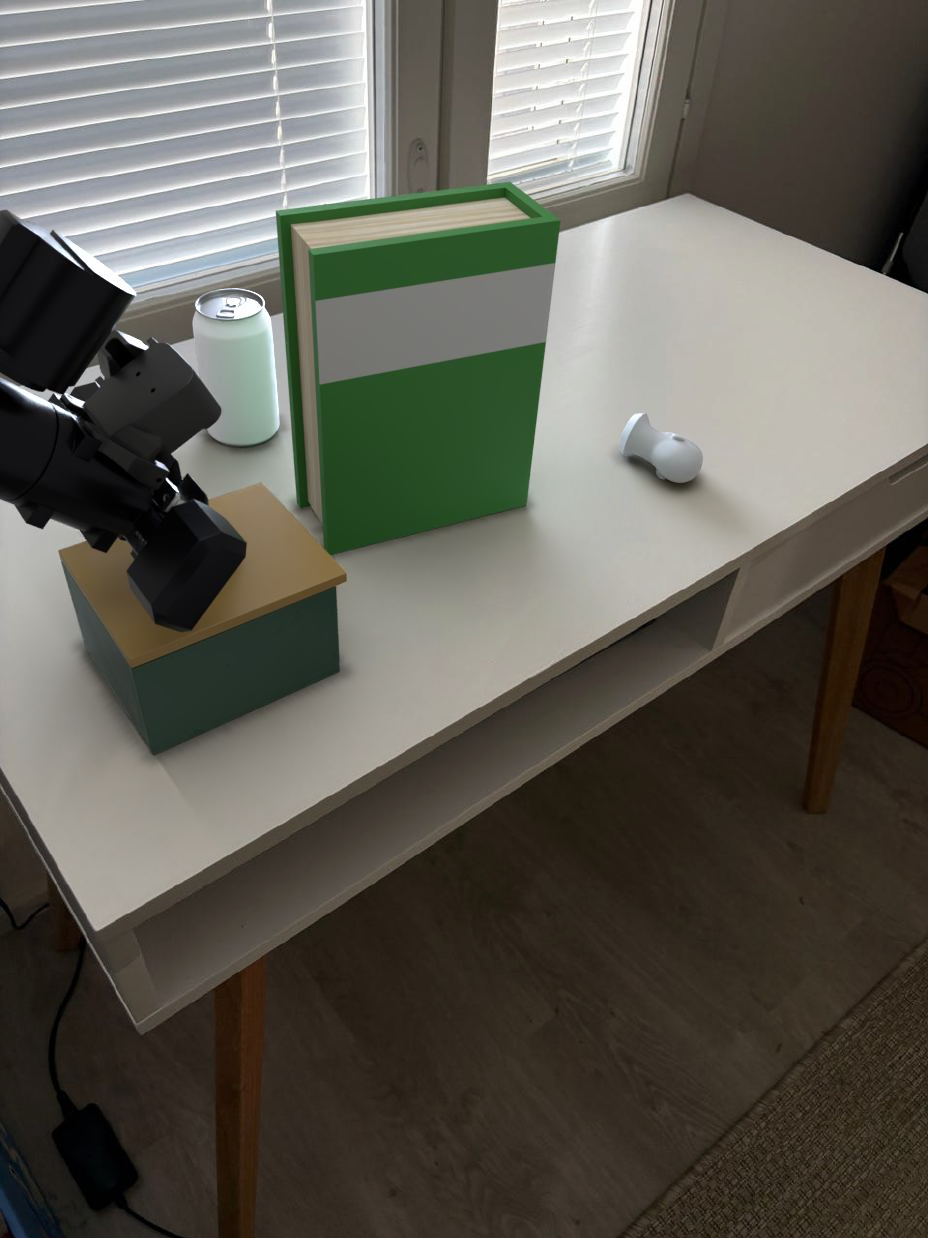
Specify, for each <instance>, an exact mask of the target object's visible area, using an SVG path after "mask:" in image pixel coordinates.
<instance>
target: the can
mask: <svg viewBox="0 0 928 1238" xmlns="http://www.w3.org/2000/svg"><path fill="white" fill-rule="evenodd" d="M265 304H266V303H265V300H264V298H263V297H262V296H261V295H260V294H258V293H256V292H254V291H251V290H248V289H243V288H221V289H220V288H219V289H214V290H211V291H208V292H205V293H203V294H202V295H200V296H199V297H198V298H197V299H196V300H195V302H194V308H195V312H194V315H193V318H192V334H193V340H194V348H195V356H196V363H197V371H198V376H199V377H200V379H201V380H202V382H203V383H204V384H205V386H206V387H207V388H208V390H209V391H210V393H211V394H212V395H213V397H214V398H215V400H216V401H217V402H218V404H219V405H220V406H221V410H222V412H221V415H220V417H219V419H218V420H217V422H216V423H215V424H213V425H212V426H211V427H210V428H208V429H206V430H207V432H208V434H209V435H210V437H212V438H213V439H214V440H215V441H216V442H219V444H223V445H224V446H229V447H234V448H235V447H236V448H247V447H252V446H253V447H254V446H258V445H261V444H263V443H265V442H267V441H269V440H270V439H271V438H272V437H273V436H275V434H276V433H277V432H278V430H279V427H280V411H279V398H278V386H277V385H278V384H277V372H276V362H275V361H276V360H275V349H274V348H275V347H274V339H273V338H274V337H273V336H274V335H273V327H272V326H273V325H272V320H271V316H270V315H269V312H268V311H267V309H266V307H265Z"/></svg>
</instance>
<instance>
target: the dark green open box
mask: <svg viewBox="0 0 928 1238" xmlns="http://www.w3.org/2000/svg"><path fill="white" fill-rule="evenodd" d="M60 563H61V567H62V570H63V574H64V577H65V581H66V585H67V588H68V591H69V595H70V598H71V602H72V605H73V608H74V613H75V615H76V621H77V623H78V626H79V629H80V634H81V637H82V639H83V640H82V641H83V644H84V648H85V649H86V650H87V652H88V654H89V655H90V656H91V658H92V660H93V662H94V663H95V665H96V667H97V668H98V670H99V672H100V673H101V674H102V676H103V678H104V679H105V682H107V685H108V686H109V688H110V689H111V690H112V692H113V694H114V695H115V697H116V698H117V700H118V702H119V704H120V705H121V707H122V708H123V710H124V711H125V713H126V715H127V716H128V718H129V719H130V721H131V723H132V725H133V727H134V728H135V730H136V731H137V732H138V734H139V735H140V737H141V739H142V740H143V742H144V745H146V747H147V748H148V750H149V752H150V753H151V755H152V756H154V755H157V754H159V753H162V752H164V751H165V750H168V749H170V748H172V747H174V746H177V745H179V744H182V743H183V742H186V741H188V740H190V739H192V738H194V737H197V736H199V735H202V734H204V733H206V732H208V731H210V730H213V729H214V728H217V727H219V726H221V725H224V724H226V723H228V722H230V721H233V720H234V719H237V718H239V717H241V716H243V715H246V714H248V713H250V712H253V711H255V710H258V709H259V708H261V707H264V706H266V705H268V704H271V703H273V702H276V701H278V700H279V699H281V698H283V697H286V696H288V695H290V694H292V693H295V692H297V691H299V690H301V689H303V688H306V687H308V686H310V685H312V684H314V683H317V682H319V681H321V680H324V679H326V678H328V677H330V676H332V675H335V674H337V673H339V672H340V670H341V669H340V640H339V639H340V637H339V616H338V615H339V613H338V593H337V592H338V591H337V588H338V587H337V586H335V587H332V588H330V589H327V590H325V591H322V592H320V593H317V594H315V595H313V596H310V597H308V598H305V599H303V600H300V601H298V602H295V603H293V604H290V605H288V606H285V607H283V608H280V609H278V610H275V611H273V612H270V613H268V614H265V615H263V616H260V617H258V618H256V619H253V620H251V621H248V622H246V623H243V624H241V625H238V626H236V627H233V628H231V629H228V630H226V631H223V632H221V633H218V634H216V635H213V636H211V637H208V638H206V639H204V640H201V641H199V642H196V643H194V644H191V645H189V646H186V647H184V648H181V649H179V650H176V651H174V652H171V653H169V654H166V655H164V656H161V657H159V658H156V659H154V660H151V661H149V662H147V663H144V664H142V665H139V666H137V667H134V668H131V667H130V665H129V664H128V662H127V661H126V659H125V658H124V656H123V654H122V653H121V651H120V650H119V648H118V647H117V645H116V644H115V642H114V641H113V639H112V638H111V636H110V635H109V633H108V631H107V630H106V628H105V627H104V625H103V624H102V622H101V621H100V619H99V618H98V616H97V615H96V613H95V612H94V610H93V608H92V607H91V605H90V604H89V602H88V601H87V599H86V598H85V596H84V595H83V593H82V592H81V590H80V589H79V587H78V586H77V584H76V582H75V581H74V579H73V578H72V576H71V575H70V573H69V572H68V570H67V569H66V567H65V566H64V564H63V563H62V561H61V560H60Z"/></svg>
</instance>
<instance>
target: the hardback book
mask: <svg viewBox="0 0 928 1238" xmlns="http://www.w3.org/2000/svg"><path fill="white" fill-rule="evenodd" d="M275 222H276V234H277V236H276V237H277V248H278V261H279V262H278V263H279V275H280V290H281V291H280V292H281V305H282V318H283V319H282V320H283V332H284V333H283V334H284V345H285V346H284V348H285V355H286V356H285V357H286V358H285V359H286V360H285V361H286V375H287V386H288V387H287V388H288V400H289V401H288V403H289V413H290V427H291V443H292V452H293V453H292V455H293V456H292V457H293V470H294V483H295V484H294V485H295V497H296V504H297V505H298V507H299V510H300V509H301V510H302V509H306V508H310V507H311V508H312V510H313V511H314V513H315V515H316V517H317V518H318V520H319V521H320V523H321V525H322V540H323V548H324V549H325V550H326V551H327V552H328V553H329V554H330V555H331V556H332V555H335V554H340V553H343V552H347V551H352V550H356V549H359V548H364V547H367V546H371V545H374V544H378V543H383V542H388V541H391V540H395V539H399V538H403V537H408V536H410V535H415V534H418V533H422V532H426V531H430V530H435V529H439V528H442V527H446V526H450V525H454V524H458V523H463V522H466V521H470V520H471V521H472V520H474V519H478V518H482V517H486V516H491V515H494V514H498V513H502V512H506V511H510V510H514V509H519V508H521V507H525V506H527V505H528V504H527V503H528V497H529V488H530V480H531V479H530V478H531V471H532V464H533V455H534V445H535V439H536V429H537V421H538V414H539V405H540V396H541V387H542V380H543V370H544V362H545V353H546V348H547V347H546V345H547V339H548V338H547V336H548V329H549V321H550V313H551V312H550V311H551V305H552V295H553V289H554V288H553V287H554V279H555V269H556V263H557V254H558V246H559V238H560V229H561V219H560V218H559V217H557V216H556V215H555V214H554V213H552V212H551V211H549V210H548V209H546V208H545V207H544V206H543V205H542V204H541V203H539V202H538V201H536V200H535V199H534V198H533V197H531V196H530V195H528V194H527V193H525V192H524V191H523V190H522V189H520V188H519V187H518V186H516V185H515V184H514V183H512V182H511V181H505V182H496V183H488V184H481V185H480V184H479V185H474V186H473V185H472V186H463V187H456V188H448V189H440V190H431V191H423V192H416V193H415V192H414V193H408V194H398V195H391V196H382V197H375V198H366V199H358V200H350V201H340V202H335V203H334V202H333V203H325V204H318V205H310V206H309V205H308V206H301V207H300V206H299V207H293V208H285V209H277V210H275Z"/></svg>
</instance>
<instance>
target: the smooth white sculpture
mask: <svg viewBox="0 0 928 1238" xmlns="http://www.w3.org/2000/svg"><path fill="white" fill-rule="evenodd" d="M618 444H619V445H618V447H619V450H620V451H621V453H622V456H623V457H624V458H626V457H630V456H631V457H632V456H638V457H640V458H642V459H644V460H646V461H647V462H648V463H650V464H651V465H652V466H654V467H655V474H656V476H657V477H658V479H661V480H663V481H664V480H669V481H670V482H673V483H677V484H683V483H688V482H690V481H692V480H693V479H696V477H697V476H698V474H699V473H700V472H701V470H702V467H703V462H704V455H703V452H702V450H701V448H700V447H699V445H697V444H696V443H695V441H694V442H693V441H692V440H690V439H689V438H687V436H684V435H682V434H680V433H676V432H675V433H674V432H670V431H659V430H657V429H656V428H654V427H653V425H652V424H651V423H650V419H649V416H648V413H647V412H643V413H634V414H633V415H632V416H631V417H630V419H628V422H627V423H626V424H625V426H624V429H623V431H622V432H621V436H620V439H619V443H618Z"/></svg>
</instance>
